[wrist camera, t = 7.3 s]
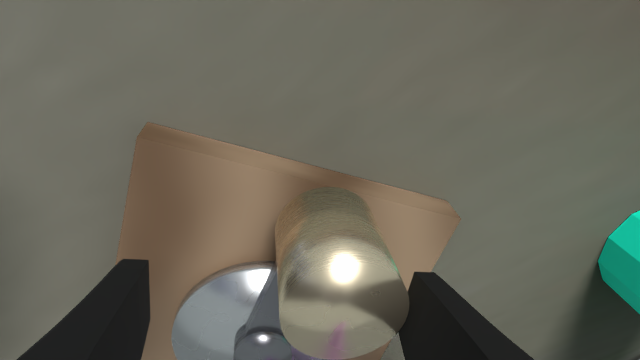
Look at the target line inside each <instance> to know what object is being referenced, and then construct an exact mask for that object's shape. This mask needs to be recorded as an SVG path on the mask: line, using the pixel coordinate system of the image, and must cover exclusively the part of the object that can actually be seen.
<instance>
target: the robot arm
mask: <svg viewBox="0 0 640 360" xmlns="http://www.w3.org/2000/svg"><path fill="white" fill-rule="evenodd" d="M408 296H409V311H408V315H407V318H406V320H405V322H404V324H403V326H402V327H401V329H400V330H399V331H398V332H399V336H400V341H401V345H402V349H403V353H404V357H405V360H534V359H533V358H532V357H530V356H529V355H528V354H527V353H525V352H524V351H523V350H522V349H520V348H519V347H518V346H517V345H516V344H514V343H513V342H512V341H511V340H509V339H508V338H507V337H506V336H505V335H504V334H502V333H501V332H500V331H499V330H498V329H497V328H496V327H494V326H493V325H492V324H491V323H490V322H489V321H488V320H487V319H485V318H484V317H483V316H482V315H481V314H480V313H479V312H478V311H477V310H475V309H474V308H473V307H472V306H471V305H470V304H469V303H468V302H467V301H466V300H465V299H463V298H462V297H461V296H460V295H459V294H458V293H457V292H456V291H455V290H454V289H453V288H451V287H450V286H449V285H448V284H447V283H446V282H445V281H444V280H443V279H441V278H440V277H439V276H438V275H437V274H435V273H434V272H414V274H413V277H412V280H411V283H410V286H409V289H408ZM149 323H150V286H149V260H141V259H122V260H121V261H119V262H118V263H117V264H116V265H115V266H114V268H113V269H112V270H111V271H110V272H109V273H108V274H107V275H106V276H105V277H104V278H103V279H102V280H101V281H100V282H99V284H98V285H97V286H96V287H95V288H94V289H93V290H92V291H91V292H90V293H89V294H88V295H87V296H86V297H85V298H84V299H83V300H82V301H81V302H80V303H79V304H78V305H77V306H76V307H75V308H74V309H72V310H71V311H70V312H69V313H68V314H67V315H66V316H65V317H64V318H63V319H62V320H61V321H60V322H59V323H58V324H57V325H56V326H55V327H53V328H52V329H51V330H50V331H49V332H48V333H47V334H46V335H44V336H43V337H42V338H41V339H40V340H39V341H38V342H36V343H35V344H34V345H33V346H32V347H31V348H30V349H29V350H27V351H26V352H25V353H24V354H23V355H22V356H20V357H19V358H18V359H17V360H141V358H142V353H143V349H144V345H145V341H146V337H147V332H148V328H149Z"/></svg>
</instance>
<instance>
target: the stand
mask: <svg viewBox="0 0 640 360" xmlns="http://www.w3.org/2000/svg"><path fill="white" fill-rule="evenodd" d="M321 187H337V188H343V189H346V190H349V191H351V192H353V193H355V194H357V195H358V196H360V197H361V198H362V199H363V200H364V201H365V202H366V203H367V204H368V206H369V207H370V209H371V211H372V213H373V216H374V218H375V220H376V222H377V224H378V227H379V229H380V231H381V233H382V236H383V238H384V240H385V242H386V245H387V247H388V249H389V251H390V254H391V256H392V258H393V260H394V263H395V265H396V267H397V269H398V272H399V274H400V276H401V278H402V281H403V283H404V285H405V287H406V290H407V292H408V289H409V286H410V283H411V280H412V277H413V274H414V272H431V270H432V269H433V267H434V265H435V263H436V262H437V260H438V258H439V257H440V255H441V253H442V251H443V250H444V248H445V246H446V244H447V243H448V241H449V239H450V238H451V236H452V234H453V232H454V231H455V229H456V227H457V225H458V224H459V222H460V220H461V218H460V217H459V216H458V214H457V213H456V212H455V211H454V209H453V208H452V207H451V205H450V204H449V203H448V202H447V201H445V200H442V199H438V198H434V197H430V196H426V195H423V194H419V193H415V192H411V191H407V190H404V189H400V188H396V187H392V186H389V185H385V184H381V183H377V182H373V181H370V180H366V179H362V178H358V177H354V176H351V175H347V174H343V173H339V172H335V171H332V170H328V169H324V168H320V167H316V166H313V165H309V164H305V163H301V162H297V161H294V160H290V159H286V158H282V157H279V156H275V155H271V154H267V153H263V152H260V151H256V150H252V149H248V148H244V147H241V146H237V145H233V144H229V143H225V142H222V141H218V140H214V139H210V138H206V137H203V136H199V135H195V134H191V133H187V132H184V131H180V130H176V129H172V128H169V127H165V126H161V125H157V124H153V123H150V122H147V124H146V125H145V126H144V128H143V129H142V131H141V132H140V133H139V135H138V136H137V140H136V146H135V152H134V158H133V163H132V169H131V175H130V181H129V187H128V193H127V199H126V205H125V211H124V217H123V223H122V229H121V235H120V241H119V247H118V253H117V259H116V264H117V263H118V262H119V261H121V260H122V259H141V260H149V286H150V323H149V328H148V332H147V337H146V341H145V345H144V349H143V353H142V358H141V360H177V358H176V356H175V354H174V351H173V347H172V340H171V337H172V328H173V324H174V320H175V316H176V312H177V309H178V307H179V305H180V303H181V301H182V300H183V298H184V297H185V296H186V294H187V293H188V292H189V291H190V290H191V289H192V288H193V287H194V286H195V285H196V284H197V283H199V282H200V281H201V280H203V279H204V278H206V277H207V276H209V275H211V274H213V273H215V272H217V271H219V270H221V269H224V268H227V267H229V266H232V265H236V264H241V263H245V262H253V261H275V260H276V245H275V226H276V222H277V219H278V217H279V215H280V213H281V211H282V210H283V209H284V207H285V206H286V205H287V204H288V203H289V202H290V201H291V200H292V199H294V198H295V197H297V196H298V195H300V194H302V193H304V192H306V191H309V190H312V189H316V188H321ZM390 341H391V340H389V341H388V342H387V343H386V344H384V345H382V346H381V347H379V348H378V349H376V350H374V351H372V352H369V353H367V354H364V355H361V356H358V357H354V358H349V359H341V360H380V358H381V357H382V355H383V353H384V352H385V350H386V348H387V346H388V345H389V343H390Z"/></svg>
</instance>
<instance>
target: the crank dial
mask: <svg viewBox="0 0 640 360" xmlns="http://www.w3.org/2000/svg"><path fill="white" fill-rule="evenodd" d="M275 245H276V260H275V261H253V262H245V263H241V264H236V265H232V266H229V267H227V268H224V269H221V270H219V271H217V272H215V273H213V274H211V275H209V276H207V277H206V278H204V279H203V280H201V281H200V282H199V283H197V284H196V285H195V286H194V287H193V288H192V289H191V290H190V291H189V292H188V293H187V294H186V296H185V297H184V298H183V300H182V301H181V303H180V305H179V307H178V309H177V312H176V316H175V320H174V324H173V328H172V337H171V340H172V347H173V351H174V354H175V356H176V358H177V360H341V359H349V358H354V357H358V356H361V355H364V354H367V353H369V352H372V351H374V350H376V349H378V348H379V347H381V346H382V345H384V344H386V343H387V342H388V341H389V340H391V339H392V338H393V337H394V336H395V335H396V334H397V333H398V331H399V330H400V329H401V327H402V326H403V324H404V322H405V320H406V318H407V315H408V311H409V296H408V292H407V290H406V287H405V285H404V283H403V281H402V278H401V276H400V274H399V272H398V269H397V267H396V265H395V263H394V260H393V258H392V256H391V254H390V251H389V249H388V247H387V245H386V242H385V240H384V238H383V236H382V233H381V231H380V229H379V227H378V224H377V222H376V220H375V218H374V216H373V213H372V211H371V209H370V207H369V206H368V204H367V203H366V202H365V201H364V200H363V199H362V198H361V197H360V196H358V195H357V194H355V193H353V192H351V191H349V190H346V189H343V188H337V187H321V188H316V189H312V190H309V191H306V192H304V193H302V194H300V195H298V196H297V197H295V198H294V199H292V200H291V201H290V202H289V203H288V204H287V205H286V206H285V207H284V209H283V210H282V211H281V213H280V215H279V217H278V219H277V222H276V226H275Z"/></svg>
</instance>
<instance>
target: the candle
mask: <svg viewBox="0 0 640 360" xmlns="http://www.w3.org/2000/svg"><path fill="white" fill-rule="evenodd" d="M598 264H599V268H600V272H601V276H602V280H603V281H604V282H606V283H607V284H608V285H609V286H610V287H611V288H612V289H613V290H614V291H615V292H616V293H617V294H618V295H619V296H621V297H622V298H623V299H624V300H625V301H626V302H627V303H628V304H629V305H630V306H631V307H632V308H633V309H634V310H636V311H637V312H638V313H639V314H640V210H639V211H637V212H635V213H633V214H631V215H630V216H629V217H628V218H627V219H626V220H625V221H624V222H623V223H622V224H621V225H620V226H619V227H618V228H617V229H616V230H615V231H614V232H613V233H612V234H611V235H610V236H609V237H608V239H607V241H606V243H605V246H604V248H603V250H602V253H601V255H600V257H599V260H598Z"/></svg>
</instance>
